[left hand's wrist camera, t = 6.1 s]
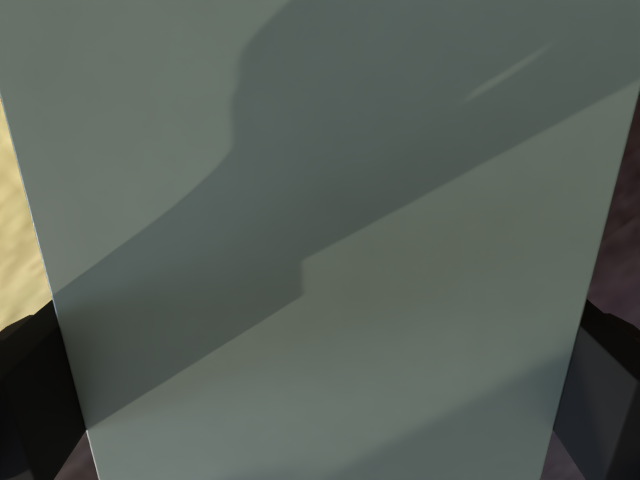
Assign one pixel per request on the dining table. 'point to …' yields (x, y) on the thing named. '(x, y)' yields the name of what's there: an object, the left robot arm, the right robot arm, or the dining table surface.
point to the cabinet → (319, 224)
